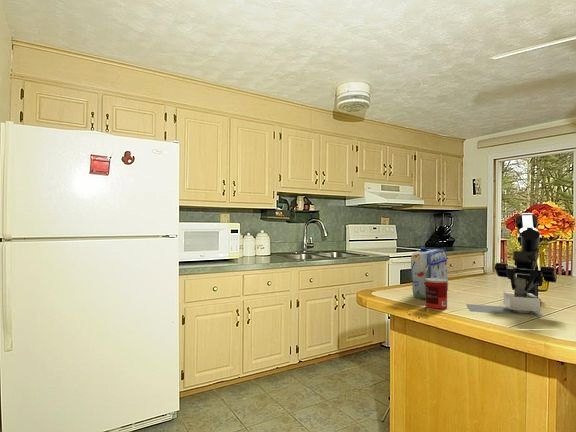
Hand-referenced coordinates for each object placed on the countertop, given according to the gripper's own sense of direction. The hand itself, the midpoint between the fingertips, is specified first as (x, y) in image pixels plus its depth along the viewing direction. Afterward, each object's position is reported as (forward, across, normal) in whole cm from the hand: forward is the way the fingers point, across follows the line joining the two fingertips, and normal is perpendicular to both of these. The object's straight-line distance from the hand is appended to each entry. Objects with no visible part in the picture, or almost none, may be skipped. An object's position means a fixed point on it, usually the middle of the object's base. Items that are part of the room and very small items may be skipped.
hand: (519, 290), depth 125 cm
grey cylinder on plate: (+4, 0, +6) cm, 7 cm away
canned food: (+17, -23, -5) cm, 29 cm away
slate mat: (+7, -5, +5) cm, 10 cm away
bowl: (+5, 0, +6) cm, 8 cm away
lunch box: (+4, -35, +8) cm, 36 cm away
